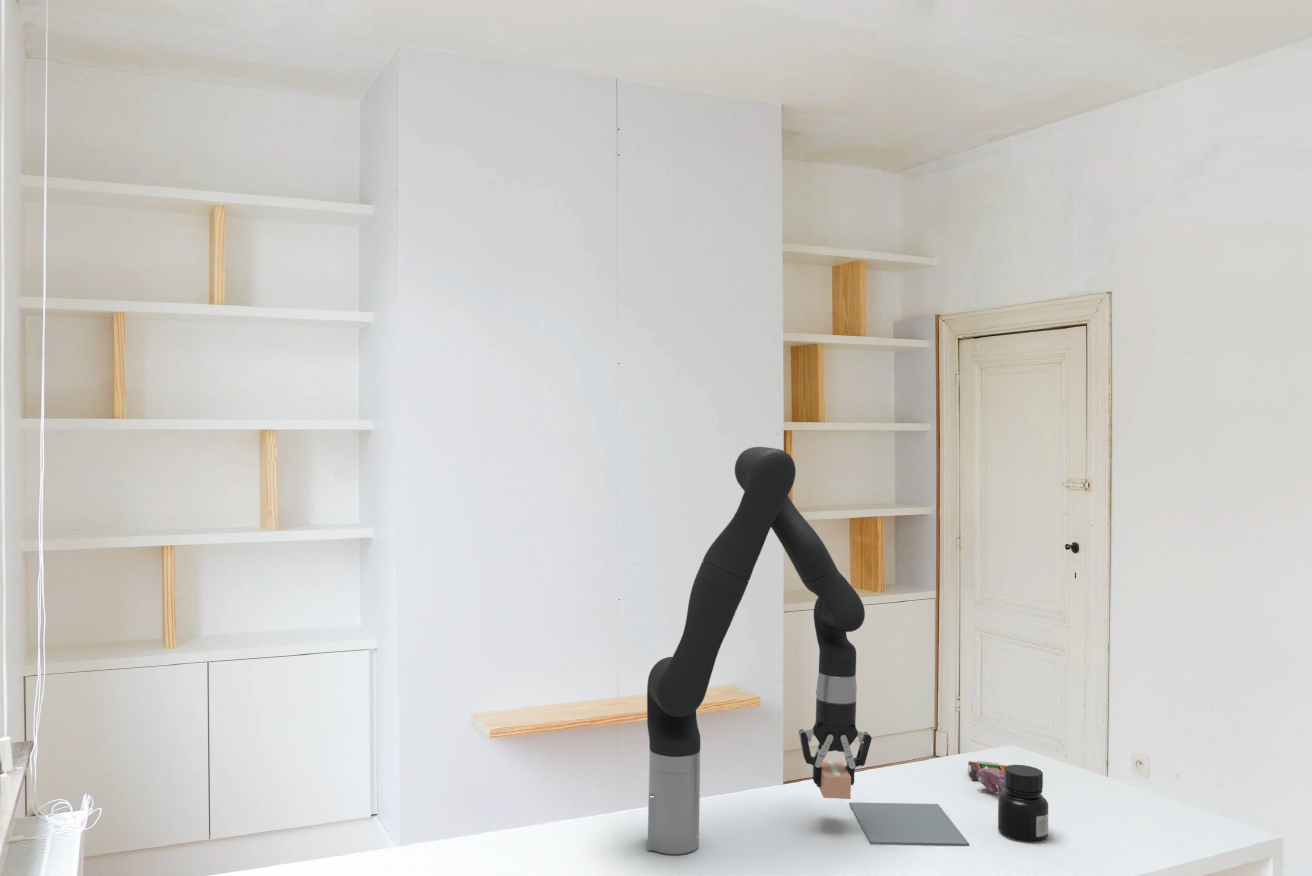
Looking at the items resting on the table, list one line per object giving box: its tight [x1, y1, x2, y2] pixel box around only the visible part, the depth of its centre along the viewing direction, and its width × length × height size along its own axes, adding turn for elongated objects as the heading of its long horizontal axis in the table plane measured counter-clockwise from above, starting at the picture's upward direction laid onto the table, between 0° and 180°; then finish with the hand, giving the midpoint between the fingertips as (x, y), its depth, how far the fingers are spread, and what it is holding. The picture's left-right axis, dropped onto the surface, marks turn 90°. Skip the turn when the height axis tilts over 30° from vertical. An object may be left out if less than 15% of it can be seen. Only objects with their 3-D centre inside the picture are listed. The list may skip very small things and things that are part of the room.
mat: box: [848, 801, 970, 847], centre depth 187 cm, size 18×20×1 cm
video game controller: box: [976, 766, 1005, 796], centre depth 204 cm, size 10×5×7 cm, turn 26°
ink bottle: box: [997, 764, 1049, 843], centre depth 183 cm, size 10×9×12 cm
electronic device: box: [967, 759, 1007, 782], centre depth 215 cm, size 7×3×15 cm
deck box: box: [818, 761, 852, 800], centre depth 186 cm, size 5×9×4 cm, turn 179°
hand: (833, 785), depth 185 cm, fingers closed on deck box, 5 cm apart
